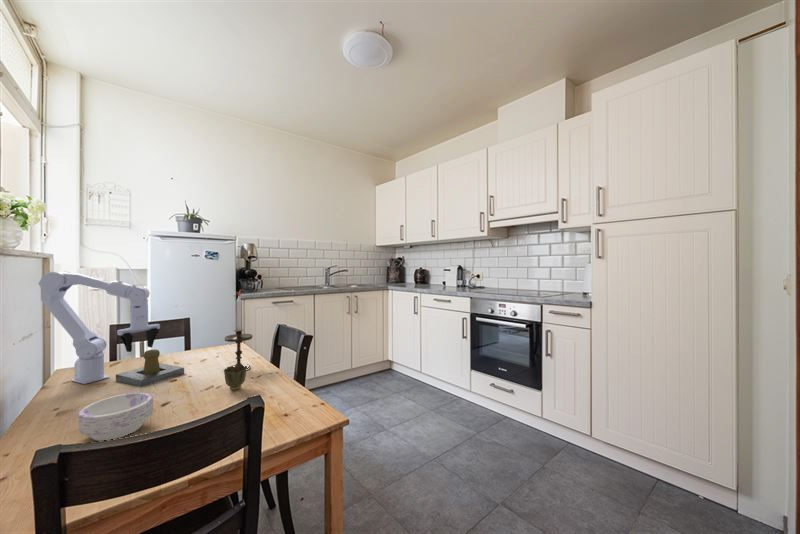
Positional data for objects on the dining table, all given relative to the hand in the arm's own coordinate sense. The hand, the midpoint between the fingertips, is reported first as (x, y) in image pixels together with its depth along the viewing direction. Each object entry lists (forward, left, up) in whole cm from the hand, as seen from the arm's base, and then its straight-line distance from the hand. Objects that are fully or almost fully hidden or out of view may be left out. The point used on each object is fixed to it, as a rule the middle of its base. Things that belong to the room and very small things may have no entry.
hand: (139, 349), depth 133 cm
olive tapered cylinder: (+8, 0, -11) cm, 13 cm away
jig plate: (+8, 0, -10) cm, 13 cm away
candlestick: (+32, +21, -11) cm, 39 cm away
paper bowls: (+46, -30, -11) cm, 56 cm away
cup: (+50, +4, -11) cm, 51 cm away
